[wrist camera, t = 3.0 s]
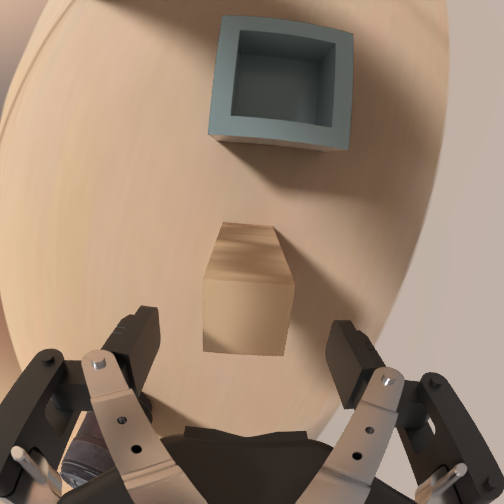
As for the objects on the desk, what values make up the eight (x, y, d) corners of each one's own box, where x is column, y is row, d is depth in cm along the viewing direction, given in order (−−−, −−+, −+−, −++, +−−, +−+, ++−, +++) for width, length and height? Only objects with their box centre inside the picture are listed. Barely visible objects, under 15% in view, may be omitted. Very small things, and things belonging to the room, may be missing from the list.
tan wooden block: (220, 268, 23) (203, 351, 13) (222, 222, 22) (203, 278, 12) (267, 272, 24) (283, 356, 13) (272, 226, 22) (295, 285, 12)
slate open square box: (217, 141, 20) (207, 134, 15) (227, 45, 17) (222, 15, 12) (324, 151, 20) (348, 150, 15) (330, 58, 18) (353, 33, 13)
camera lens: (158, 389, 28) (126, 497, 14) (157, 424, 31) (134, 514, 16) (96, 369, 27) (46, 462, 13) (103, 406, 30) (68, 489, 16)
